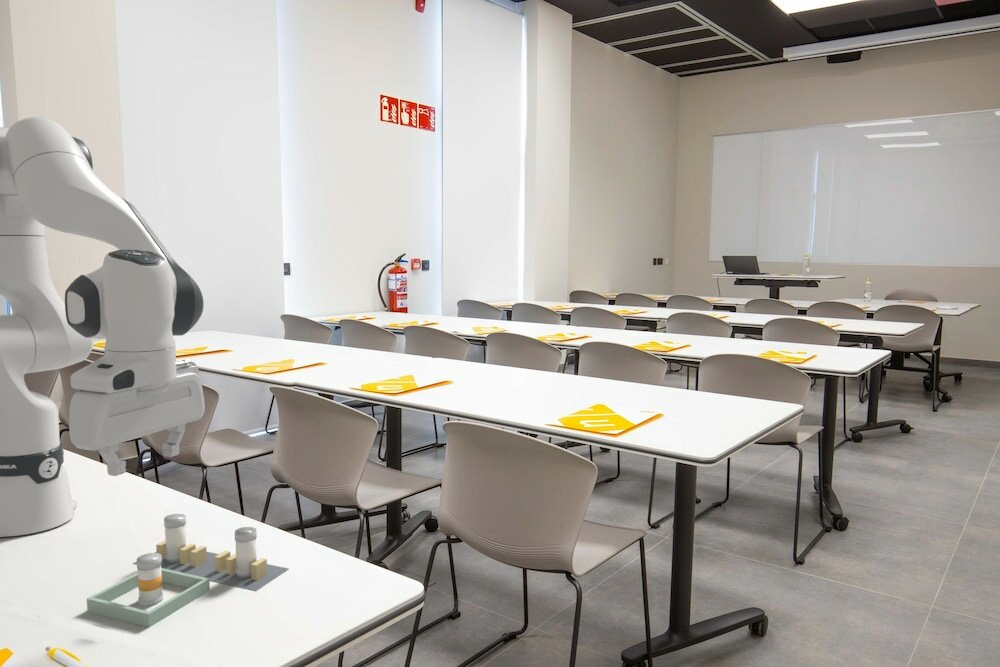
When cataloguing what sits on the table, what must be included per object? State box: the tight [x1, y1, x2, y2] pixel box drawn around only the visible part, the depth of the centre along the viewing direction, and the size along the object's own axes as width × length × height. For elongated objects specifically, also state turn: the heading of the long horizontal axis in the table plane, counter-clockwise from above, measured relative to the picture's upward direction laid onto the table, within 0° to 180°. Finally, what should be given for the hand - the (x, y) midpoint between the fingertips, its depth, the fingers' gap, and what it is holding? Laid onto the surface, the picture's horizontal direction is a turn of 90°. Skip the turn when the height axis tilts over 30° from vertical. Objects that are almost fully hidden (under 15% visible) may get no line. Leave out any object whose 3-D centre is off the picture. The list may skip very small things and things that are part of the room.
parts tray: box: [86, 568, 211, 628], centre depth 103 cm, size 11×11×3 cm
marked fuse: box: [136, 552, 164, 607], centre depth 103 cm, size 3×3×7 cm
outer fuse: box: [234, 526, 258, 578], centre depth 112 cm, size 3×3×7 cm
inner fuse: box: [163, 513, 187, 563], centre depth 116 cm, size 3×3×7 cm
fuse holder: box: [132, 540, 290, 592], centre depth 114 cm, size 24×8×4 cm, turn 70°
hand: (145, 464), depth 101 cm, fingers open, 8 cm apart
